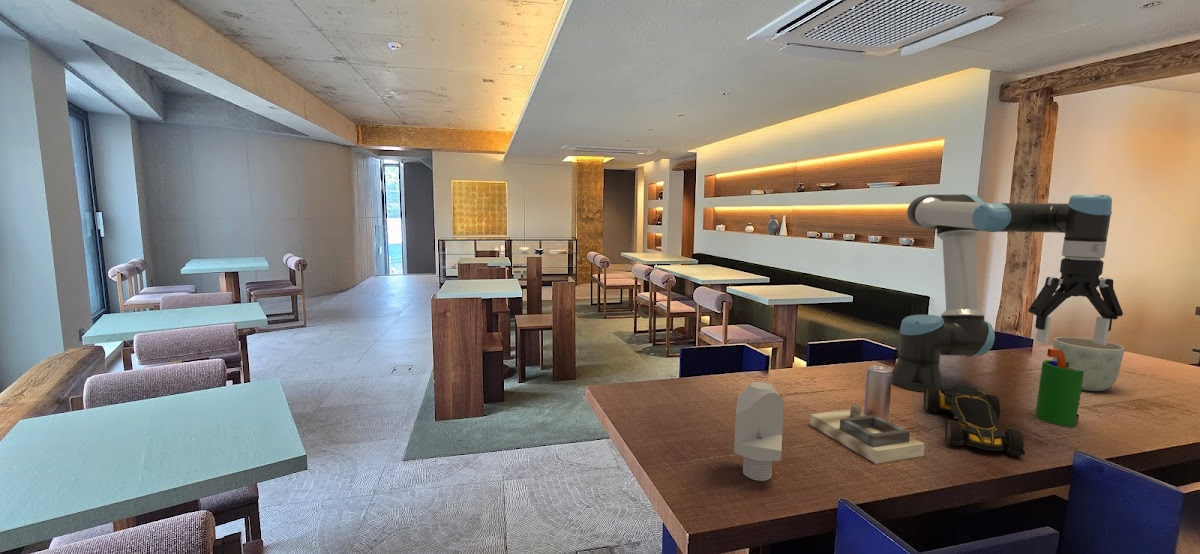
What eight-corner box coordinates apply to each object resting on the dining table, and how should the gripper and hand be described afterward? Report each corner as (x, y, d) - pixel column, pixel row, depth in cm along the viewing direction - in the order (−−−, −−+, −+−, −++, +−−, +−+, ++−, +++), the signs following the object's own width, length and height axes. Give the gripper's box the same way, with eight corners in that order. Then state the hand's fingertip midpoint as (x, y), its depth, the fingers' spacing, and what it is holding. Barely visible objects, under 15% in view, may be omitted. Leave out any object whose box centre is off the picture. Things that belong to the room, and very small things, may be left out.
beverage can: (858, 417, 139) (862, 365, 137) (878, 417, 140) (883, 365, 138) (872, 426, 133) (876, 372, 131) (893, 426, 134) (897, 372, 132)
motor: (1089, 428, 134) (1098, 356, 131) (1050, 425, 135) (1059, 353, 133) (1062, 413, 143) (1071, 346, 141) (1026, 411, 145) (1034, 344, 143)
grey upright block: (732, 480, 105) (736, 389, 103) (737, 460, 114) (740, 376, 111) (779, 489, 102) (784, 395, 99) (780, 468, 111) (785, 381, 108)
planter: (1109, 384, 169) (1115, 341, 167) (1126, 400, 155) (1133, 352, 153) (1043, 375, 178) (1048, 334, 176) (1054, 389, 164) (1059, 344, 162)
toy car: (990, 415, 143) (993, 381, 141) (1030, 465, 114) (1035, 423, 113) (922, 406, 149) (925, 373, 148) (944, 450, 121) (948, 410, 120)
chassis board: (809, 424, 134) (811, 403, 133) (852, 419, 138) (853, 398, 137) (875, 463, 113) (877, 438, 112) (923, 456, 117) (925, 431, 116)
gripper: (1040, 259, 119) (1029, 345, 122) (1152, 260, 117) (1138, 348, 120) (1017, 256, 126) (1007, 337, 129) (1121, 257, 125) (1109, 340, 127)
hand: (1070, 343), depth 125 cm, fingers open, 13 cm apart
